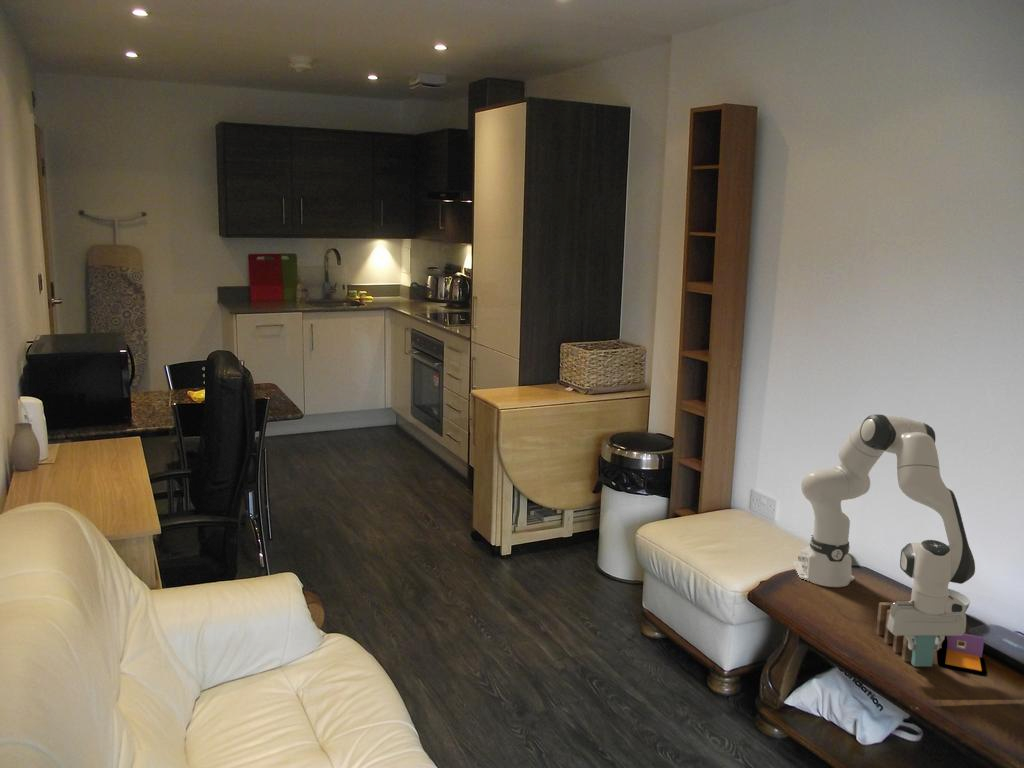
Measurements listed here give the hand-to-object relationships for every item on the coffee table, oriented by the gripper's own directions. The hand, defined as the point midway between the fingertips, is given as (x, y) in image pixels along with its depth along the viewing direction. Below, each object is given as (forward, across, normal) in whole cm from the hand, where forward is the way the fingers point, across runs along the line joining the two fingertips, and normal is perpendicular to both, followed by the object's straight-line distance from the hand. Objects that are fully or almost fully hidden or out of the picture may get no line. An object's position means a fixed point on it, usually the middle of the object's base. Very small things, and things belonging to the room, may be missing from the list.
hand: (923, 649), depth 226 cm
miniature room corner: (+6, +14, +4) cm, 16 cm away
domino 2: (+6, 0, +15) cm, 16 cm away
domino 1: (+6, 0, +20) cm, 21 cm away
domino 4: (+6, 0, +5) cm, 8 cm away
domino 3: (+6, 0, +10) cm, 12 cm away
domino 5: (+5, 0, 0) cm, 5 cm away
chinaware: (+6, +23, +31) cm, 39 cm away
